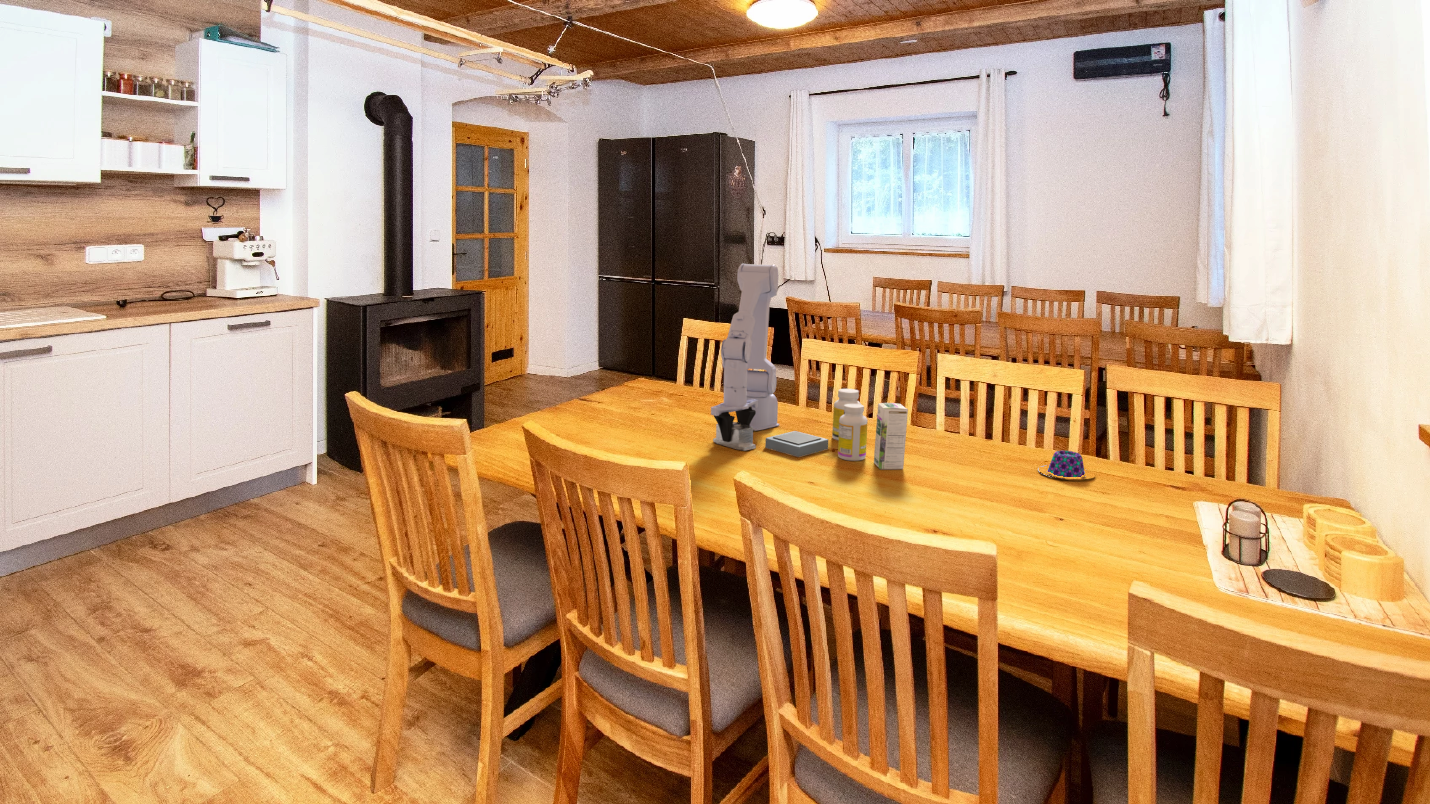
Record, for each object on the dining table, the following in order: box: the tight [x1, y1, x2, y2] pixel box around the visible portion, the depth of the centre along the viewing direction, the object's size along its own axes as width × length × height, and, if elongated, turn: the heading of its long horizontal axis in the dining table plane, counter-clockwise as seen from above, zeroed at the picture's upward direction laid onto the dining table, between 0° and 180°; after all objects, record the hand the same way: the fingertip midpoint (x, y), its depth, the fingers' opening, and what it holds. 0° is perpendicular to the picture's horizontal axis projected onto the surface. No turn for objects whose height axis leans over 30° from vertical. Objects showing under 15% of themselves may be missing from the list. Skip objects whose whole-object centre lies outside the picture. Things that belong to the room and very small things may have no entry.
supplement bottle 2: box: [837, 404, 868, 462], centre depth 200 cm, size 7×7×13 cm
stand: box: [764, 430, 829, 458], centre depth 209 cm, size 11×11×3 cm
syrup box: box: [873, 402, 909, 470], centre depth 194 cm, size 6×6×14 cm
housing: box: [712, 421, 757, 452], centre depth 210 cm, size 5×11×6 cm, turn 43°
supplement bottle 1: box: [831, 388, 862, 441], centre depth 217 cm, size 7×7×13 cm
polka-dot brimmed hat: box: [1037, 450, 1085, 478], centre depth 191 cm, size 12×12×5 cm
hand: (734, 439), depth 210 cm, fingers closed on housing, 5 cm apart
